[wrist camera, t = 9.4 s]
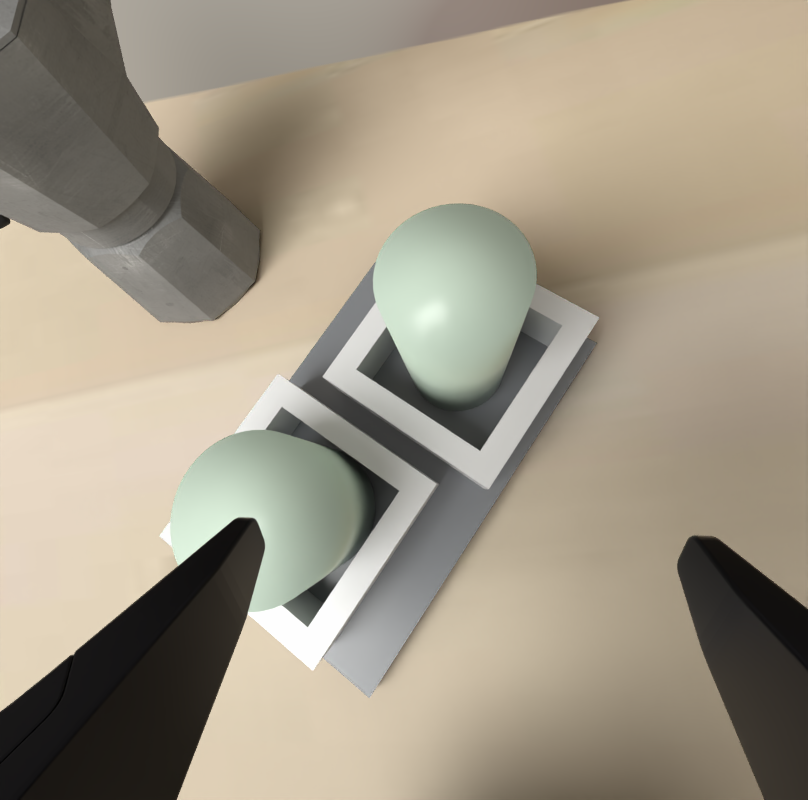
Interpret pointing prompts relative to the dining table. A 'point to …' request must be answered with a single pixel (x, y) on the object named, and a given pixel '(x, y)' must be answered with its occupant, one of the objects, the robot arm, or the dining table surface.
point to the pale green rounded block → (455, 299)
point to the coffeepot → (110, 167)
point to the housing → (370, 480)
